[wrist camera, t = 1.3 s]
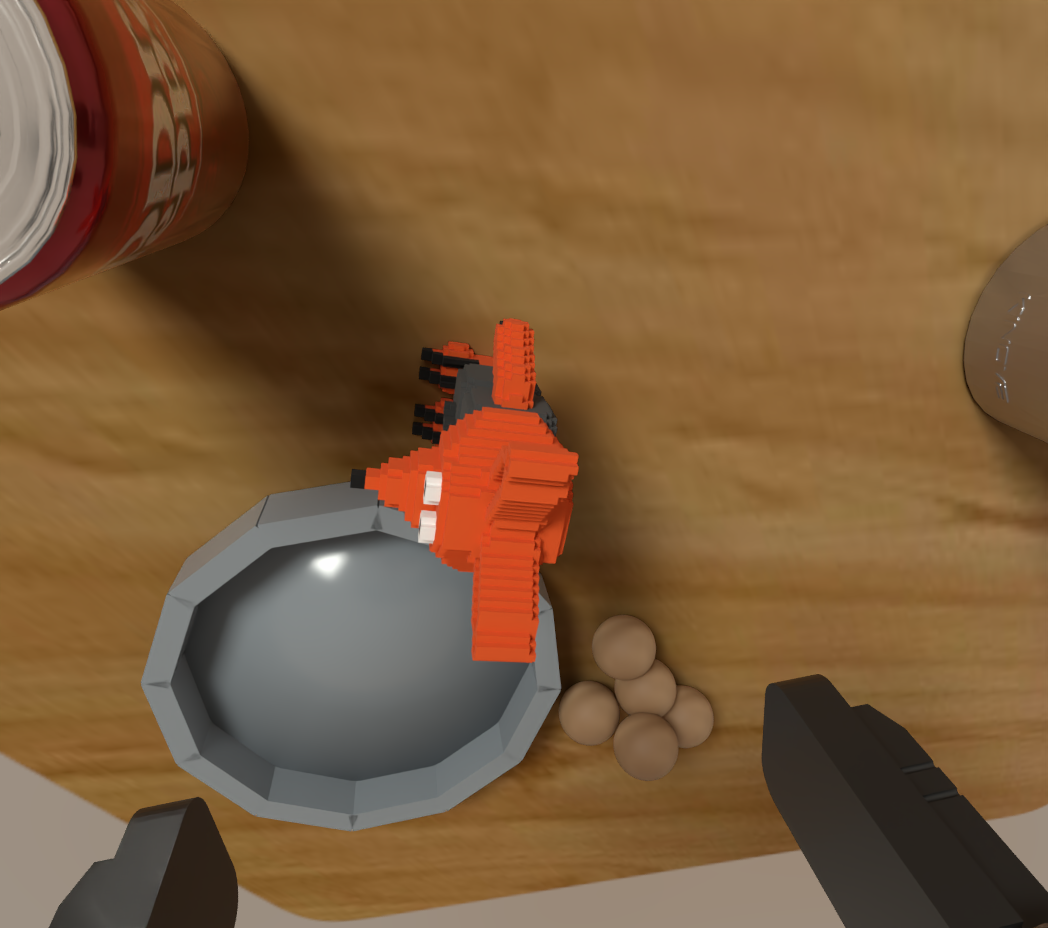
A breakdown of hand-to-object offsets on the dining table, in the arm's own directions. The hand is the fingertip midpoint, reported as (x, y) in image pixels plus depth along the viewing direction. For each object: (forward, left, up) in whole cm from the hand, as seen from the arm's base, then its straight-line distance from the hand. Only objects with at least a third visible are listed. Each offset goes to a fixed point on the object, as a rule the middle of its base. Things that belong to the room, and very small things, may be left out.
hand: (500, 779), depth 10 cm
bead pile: (-7, +15, -18) cm, 24 cm away
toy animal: (0, 0, -18) cm, 18 cm away
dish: (+5, +11, -18) cm, 21 cm away
